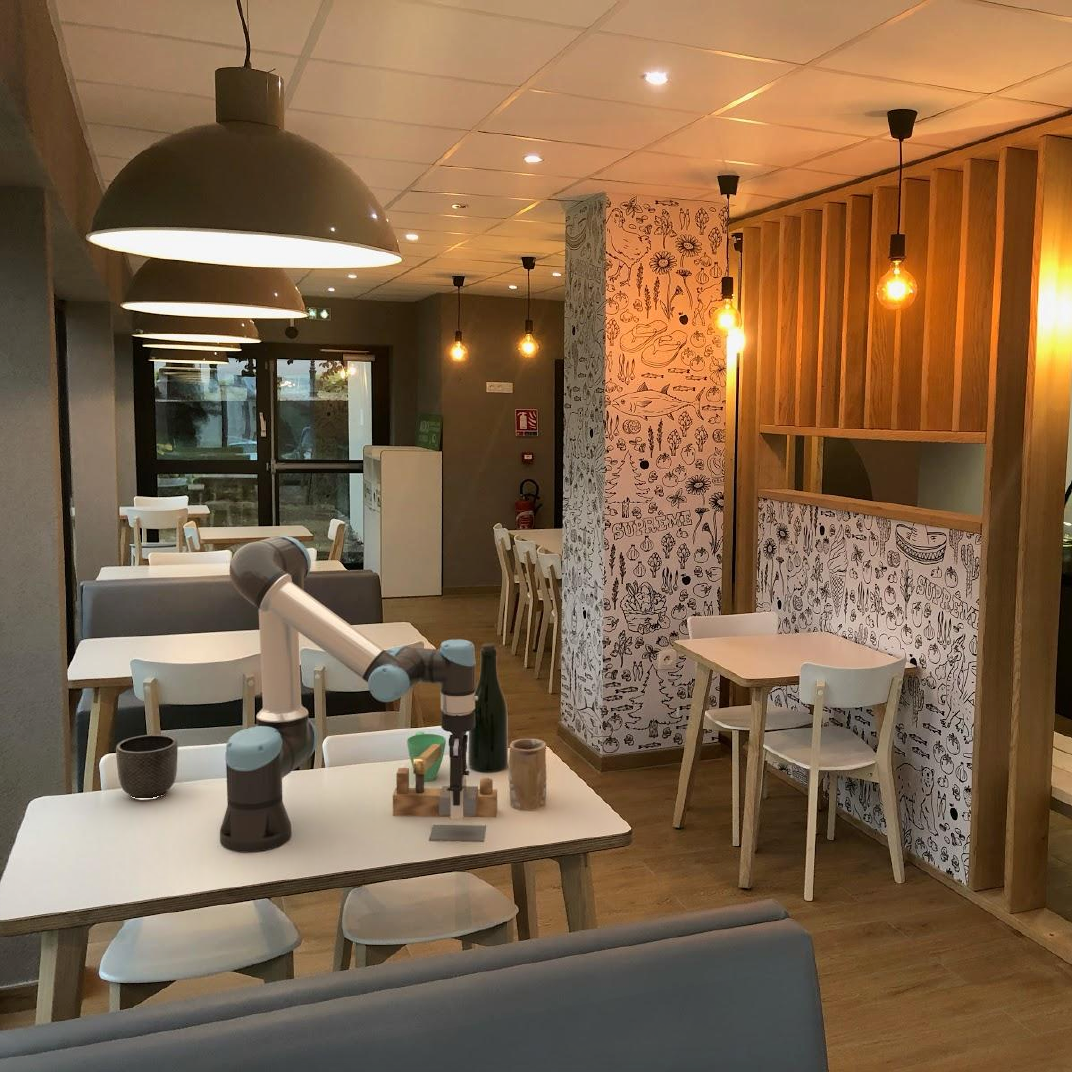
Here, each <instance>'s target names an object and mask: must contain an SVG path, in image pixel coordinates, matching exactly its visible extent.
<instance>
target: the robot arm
mask: <svg viewBox="0 0 1072 1072" xmlns="http://www.w3.org/2000/svg"><path fill="white" fill-rule="evenodd" d="M309 553H310V552H309V550H308V549H307V548H306V546H305V545H304V544H303V543H302V542H300V541H299V540H298V539H296V538H294V537H292V536H287V535H281V536H279V535H277V536H271V537H268V538H265V539H261V540H257V541H252V542H249V543H246V544H244V545H242V546H241V547H239V548H238V549H237V551H235V552H234V554H233V556H232V558H231V559H230V560H231V561H230V564H229V577H230V581H231V582H232V584H233V587H234V588H235V589H236V591H238V593H239V594H240V595H241V596H242V597H243V598H244V599H245V600H247V601H248V602H249V603H250V604H251V605H253V606H254V607H255V608H257V609H258V622H259V623H258V625H259V626H258V627H259V645H260V647H259V648H260V649H259V650H260V667H261V669H260V670H261V671H260V672H261V689H262V690H261V692H262V696H261V697H262V708H261V709H260V710H259V712H257V714H256V726H250V727H248V729H245V728H243V729H241V730H239V731H236V732H235V733H234V734H233V735H231V736H230V737H229V739H228V740H227V742H226V746H225V747H226V748H225V749H226V750H225V755H224V756H225V758H224V759H225V764H226V765H225V766H226V767H225V769H226V771H225V772H226V796H227V797H226V798H227V799H226V800H227V802H226V803H227V806H226V811H225V813H224V817H223V820H222V822H221V826H220V830H219V842H220V845H221V846H223V848H226V849H227V850H230V851H234V852H247V853H248V852H249V853H250V852H252V853H253V852H262V851H266V850H271V849H274V848H277V847H279V846H281V845H283V844H285V843H286V842H288V841H289V840H290V839H291V837H292V824H291V820H290V817H289V815H288V812H287V808H286V807H285V805H284V801H283V799H284V798H283V779H284V778H285V777H286V776H288V774H290V773H292V772H293V771H294V770H295V769H297V768H300V766H301V767H302V766H303V765H304V764H305V763H306V762H307V761H308V760H309V759H310V757H311V756H312V755H313V753H314V752H315V750H316V748H317V744H318V733H317V729H316V726H315V724H314V723H313V722H312V721H311V718H309V711H308V709H307V708H306V707H304V706H303V704H302V688H301V666H300V665H301V662H300V659H301V658H300V638H299V634H300V635H302V636H304V637H305V638H306V639H308V640H309V641H310V642H312V643H313V644H314V645H316V646H318V647H319V648H320V649H321V650H323V651H324V652H325V653H327V654H328V655H330V656H331V657H332V658H333V659H335V660H336V661H338V662H339V663H340V664H341V665H343V666H344V667H346V668H347V669H349V670H350V671H351V672H353V673H354V674H355V675H357V676H358V677H360V678H361V679H363V680H364V681H365V682H366V683H367V686H368V690H369V692H370V694H371V695H372V697H373V698H375V699H376V700H377V701H379V702H382V703H390V702H394V701H396V700H398V699H400V698H402V697H404V696H405V695H406V694H407V692H409V691H410V690H411V689H413V688H415V687H416V686H417V685H418V684H421V683H422V684H436V685H437V684H439V685H440V710H441V711H442V712H441V713H440V727H441V729H442V730H443V731H445V732H449V733H451V734H449V738H448V746H449V749H448V750H449V751H448V752H449V753H448V754H449V786H450V787H449V788H447V791H450V792H451V817H450V820H463V819H464V817H463V787H462V786H467V776H470V771H469V770H467V769H468V765H467V753H468V752H467V751H468V743H469V734H467V733H469V731H471V730H473V729H474V728H475V712H474V711H473V710H474V709H475V701H476V700H478V697H477V696H474V695H475V690H476V664H477V662H476V651H475V650H476V649H475V645H474V643H473V642H471V641H470V640H466V639H460V638H459V639H448V640H444V641H442V642H441V644H440V648H424V647H411V646H399V647H398V646H394V647H392V648H390V649H389V651H387V650H385V649H384V648H383V647H382V646H379V645H378V644H377V643H375V642H374V641H373V640H372V639H370V638H369V637H367V636H366V635H364V634H363V633H362V632H360V630H358V629H356V628H355V627H354V626H352V625H351V624H350V623H348V622H347V621H345V620H344V619H343V618H342V617H341V616H339V615H337V614H336V613H335V612H333V611H332V610H331V609H330V608H328V607H326V606H325V605H324V604H322V603H321V602H320V601H319V600H317V599H315V598H314V597H313V596H312V595H310V594H309V593H308V592H305V590H304V588H305V587H304V585H305V584H304V581H305V580H306V578H307V577H308V576H309V573H310V571H311V567H312V566H311V565H312V561H311V560H312V559H311V556H310V554H309Z"/></svg>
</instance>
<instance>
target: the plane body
mask: <svg viewBox="0 0 1072 1072" xmlns="http://www.w3.org/2000/svg"><path fill="white" fill-rule="evenodd" d="M395 776H396V787H395V789H394V790H393V791H394V792H393V794H392V816H399V817H400V816H401V817H449V818H451V815H439V796H440V792H441V789H442V787H440V788H439V787H437V788H436V787H434V788H433V787H431V788H429V787H425V781H424V774H420V775H418V774H415V787H410V768H408V767H398V769H397V771H396V775H395ZM493 783H494V781H493V779H492V778H490V777H483V778H480V779H479V788H478V806H477V811H476V816H463V818H497V814H498V789H497V788H496V789H495V788H494V789H493V786H494V785H493Z"/></svg>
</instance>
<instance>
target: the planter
mask: <svg viewBox="0 0 1072 1072" xmlns="http://www.w3.org/2000/svg"><path fill="white" fill-rule="evenodd" d="M115 746H116V747H115V755H116V757H115V758H116V766H117V774H118V775H117V776H118V780H119V783H120V787H121V789H122V790H123V791H124V792H125V793H126V794H128V795H129V797H131V796H132V797H135V798H153V797H157V796H161V795H164V794H165V793H166V794H167V792H168V791H169V790H170V789H171V788H172V787H173V785H174V783H175V782H176V778H177V771H178V751H179V749H178V746H179V745H178V739H177V738H176V737H174V736H171V735H168V734H145V735H144V734H143V735H138V736H134V737H133V736H132V737H129V738H126V739H124V740H122V741H120V742H118V743H117V744H116V745H115ZM166 794H165V795H166ZM165 795H164V796H165ZM132 797H131V798H132Z"/></svg>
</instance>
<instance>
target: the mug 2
mask: <svg viewBox="0 0 1072 1072" xmlns="http://www.w3.org/2000/svg"><path fill="white" fill-rule="evenodd" d="M546 751H547V743H546V742H545V741H544V740H541V739H537V738H519V739H516V740H512V741H511V742H510V743H509V753H508V786H509V801H510V803H509V804H510V806H511V807H513V808H514V809H517V810H523V811H536V810H540V809H543V808H545V806H546V801H547V779H548V778H547V777H548V776H547V763H546V762H547V760H546V758H547V757H546V753H547V752H546Z"/></svg>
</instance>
